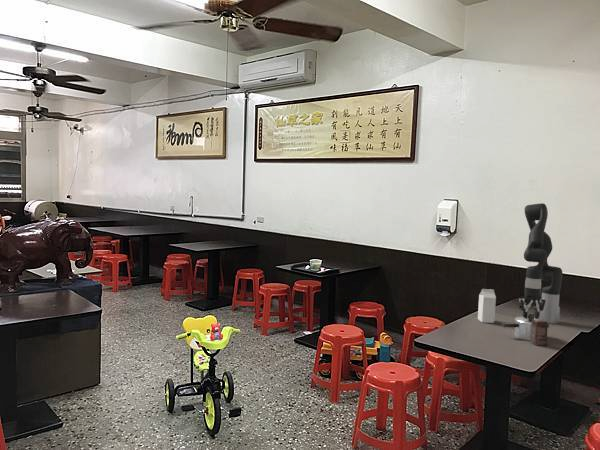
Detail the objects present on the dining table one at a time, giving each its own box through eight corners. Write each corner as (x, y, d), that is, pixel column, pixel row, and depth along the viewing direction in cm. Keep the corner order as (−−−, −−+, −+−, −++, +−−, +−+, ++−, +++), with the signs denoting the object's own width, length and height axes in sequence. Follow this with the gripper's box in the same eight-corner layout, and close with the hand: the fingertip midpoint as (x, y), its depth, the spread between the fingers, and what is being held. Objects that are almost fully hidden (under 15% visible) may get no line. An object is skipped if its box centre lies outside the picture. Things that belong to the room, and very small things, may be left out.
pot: (538, 332, 252) (539, 318, 251) (554, 341, 238) (556, 326, 237) (495, 332, 249) (496, 318, 249) (509, 341, 235) (510, 325, 235)
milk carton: (494, 323, 268) (496, 290, 267) (481, 322, 268) (484, 290, 267) (489, 319, 275) (491, 288, 274) (477, 319, 275) (479, 287, 274)
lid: (534, 318, 252) (535, 310, 251) (553, 326, 237) (553, 317, 236) (509, 317, 250) (509, 310, 249) (525, 326, 235) (526, 317, 235)
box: (541, 342, 234) (543, 319, 233) (546, 345, 230) (548, 322, 229) (530, 342, 234) (531, 319, 233) (535, 345, 229) (537, 321, 228)
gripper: (541, 285, 246) (539, 316, 247) (515, 284, 245) (513, 316, 246) (550, 288, 239) (548, 320, 240) (524, 287, 237) (521, 320, 239)
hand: (530, 318), depth 243 cm, fingers open, 5 cm apart
